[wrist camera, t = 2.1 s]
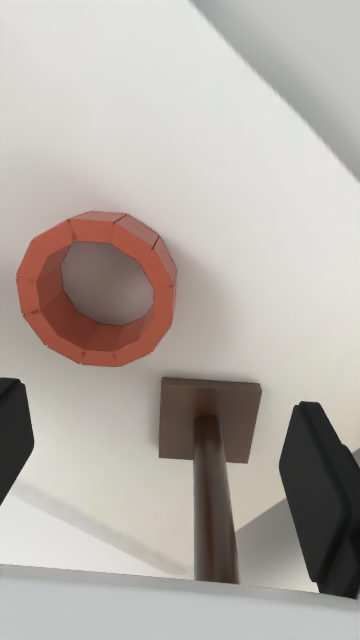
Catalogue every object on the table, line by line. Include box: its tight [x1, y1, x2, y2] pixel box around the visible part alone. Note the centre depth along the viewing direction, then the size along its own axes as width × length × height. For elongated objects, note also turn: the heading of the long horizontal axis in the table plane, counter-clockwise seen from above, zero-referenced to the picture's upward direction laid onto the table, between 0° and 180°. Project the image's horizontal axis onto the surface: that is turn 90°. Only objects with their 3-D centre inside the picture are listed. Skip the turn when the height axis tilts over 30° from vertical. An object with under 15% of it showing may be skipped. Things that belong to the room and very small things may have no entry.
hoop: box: [16, 211, 177, 367], centre depth 21 cm, size 9×9×4 cm
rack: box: [159, 378, 262, 585], centre depth 22 cm, size 8×8×14 cm
